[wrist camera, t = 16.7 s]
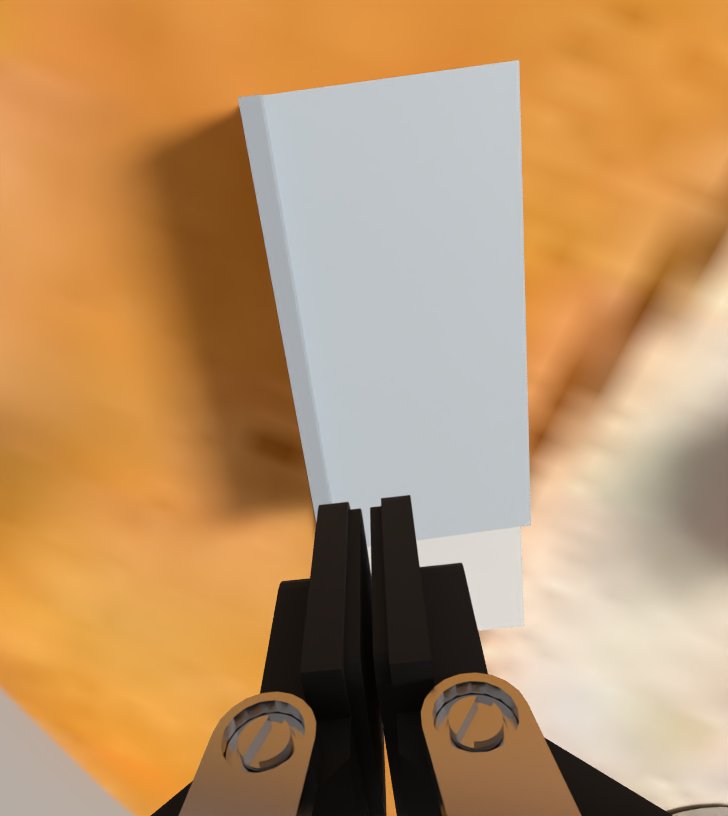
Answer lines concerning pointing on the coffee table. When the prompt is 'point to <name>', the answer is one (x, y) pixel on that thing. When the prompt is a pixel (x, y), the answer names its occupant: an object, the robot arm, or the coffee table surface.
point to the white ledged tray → (484, 572)
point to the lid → (402, 289)
